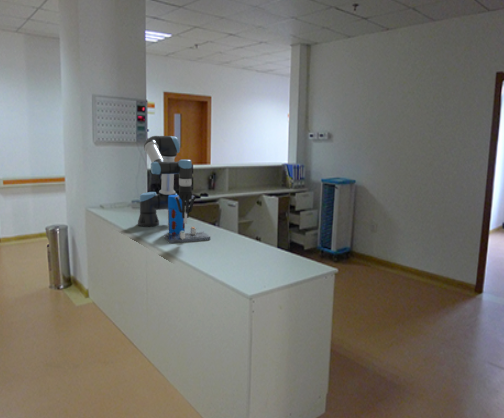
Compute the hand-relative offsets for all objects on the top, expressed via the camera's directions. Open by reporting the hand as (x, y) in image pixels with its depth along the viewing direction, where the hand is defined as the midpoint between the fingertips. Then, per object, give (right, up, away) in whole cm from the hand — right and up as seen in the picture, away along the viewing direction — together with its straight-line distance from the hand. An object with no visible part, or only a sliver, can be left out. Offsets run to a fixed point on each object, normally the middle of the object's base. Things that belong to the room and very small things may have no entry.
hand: (185, 223), depth 247 cm
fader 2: (+3, -7, +12) cm, 14 cm away
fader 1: (-2, -9, +1) cm, 10 cm away
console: (0, -10, +7) cm, 12 cm away
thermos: (-10, -7, +23) cm, 26 cm away
